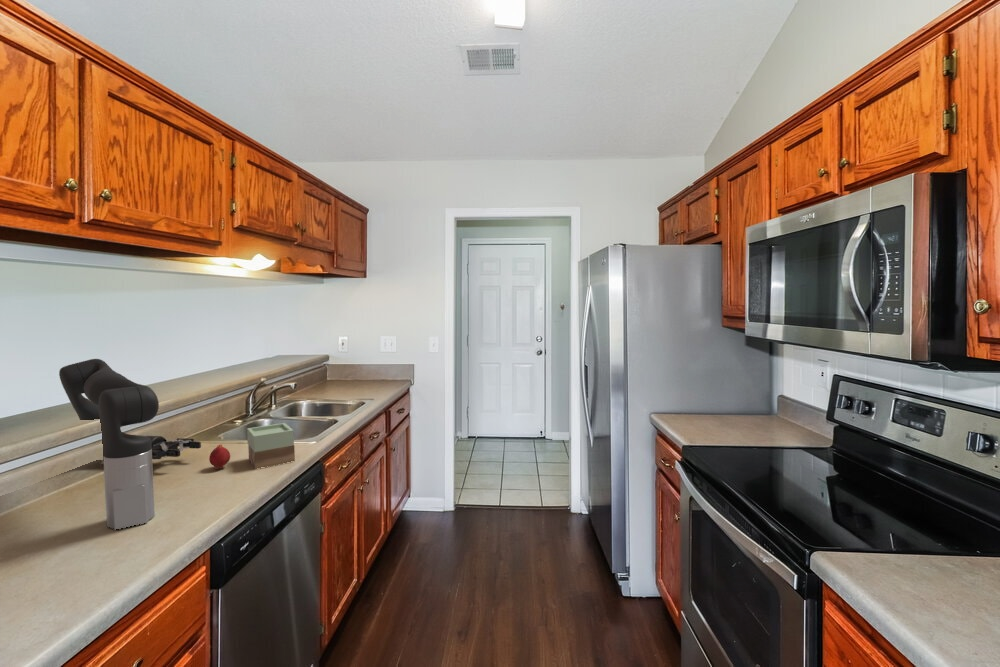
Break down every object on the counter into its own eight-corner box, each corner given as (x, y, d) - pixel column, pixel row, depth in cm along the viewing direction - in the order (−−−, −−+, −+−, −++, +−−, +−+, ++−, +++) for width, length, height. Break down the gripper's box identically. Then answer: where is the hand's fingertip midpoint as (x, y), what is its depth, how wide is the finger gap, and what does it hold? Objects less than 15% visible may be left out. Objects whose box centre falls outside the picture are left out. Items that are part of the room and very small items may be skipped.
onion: (220, 472, 144) (219, 447, 144) (205, 470, 145) (204, 446, 145) (234, 465, 150) (233, 442, 149) (219, 464, 151) (218, 441, 151)
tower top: (293, 445, 154) (293, 430, 154) (254, 452, 147) (254, 436, 146) (285, 437, 163) (284, 422, 163) (247, 443, 156) (247, 428, 156)
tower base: (294, 462, 154) (294, 445, 154) (255, 470, 147) (254, 452, 147) (286, 453, 164) (285, 436, 163) (248, 460, 156) (248, 443, 156)
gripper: (125, 442, 143) (171, 444, 141) (163, 430, 157) (206, 431, 155) (126, 465, 144) (172, 467, 142) (164, 451, 158) (207, 453, 156)
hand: (190, 449), depth 149 cm, fingers open, 8 cm apart
